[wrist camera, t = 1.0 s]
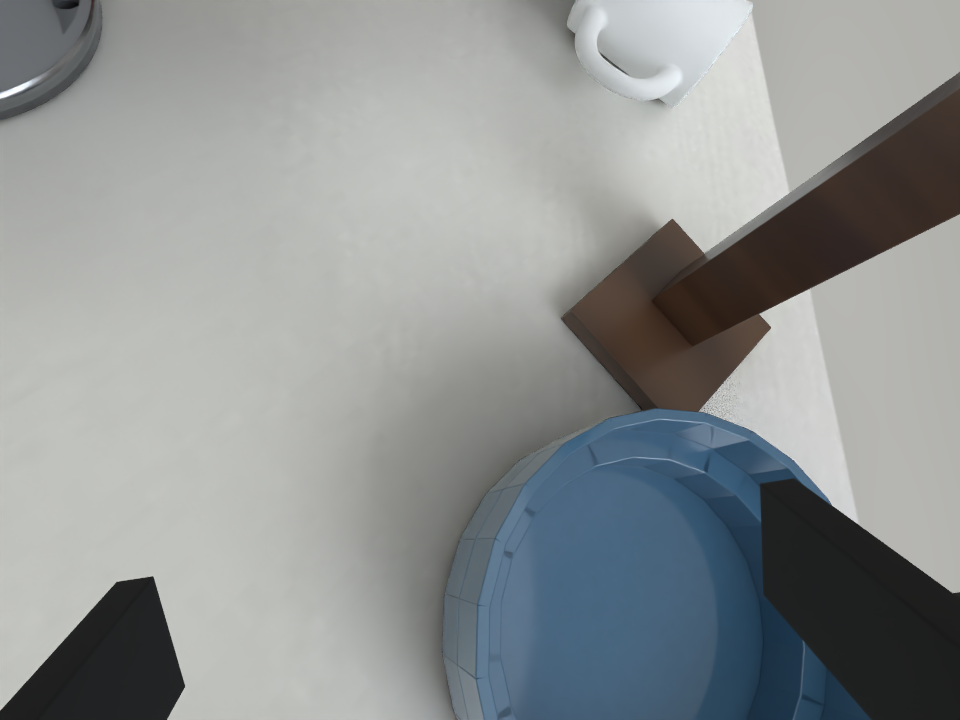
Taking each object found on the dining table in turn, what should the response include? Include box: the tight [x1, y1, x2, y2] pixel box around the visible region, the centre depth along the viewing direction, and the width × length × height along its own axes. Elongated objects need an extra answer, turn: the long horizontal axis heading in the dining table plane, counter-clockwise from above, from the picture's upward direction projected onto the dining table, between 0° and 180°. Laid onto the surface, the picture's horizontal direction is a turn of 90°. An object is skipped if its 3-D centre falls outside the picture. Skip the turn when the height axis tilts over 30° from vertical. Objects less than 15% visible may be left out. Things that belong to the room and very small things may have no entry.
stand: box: [561, 72, 960, 412], centre depth 26 cm, size 11×10×30 cm
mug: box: [567, 0, 753, 108], centre depth 42 cm, size 12×10×8 cm
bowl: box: [442, 408, 871, 720], centre depth 31 cm, size 21×21×7 cm
